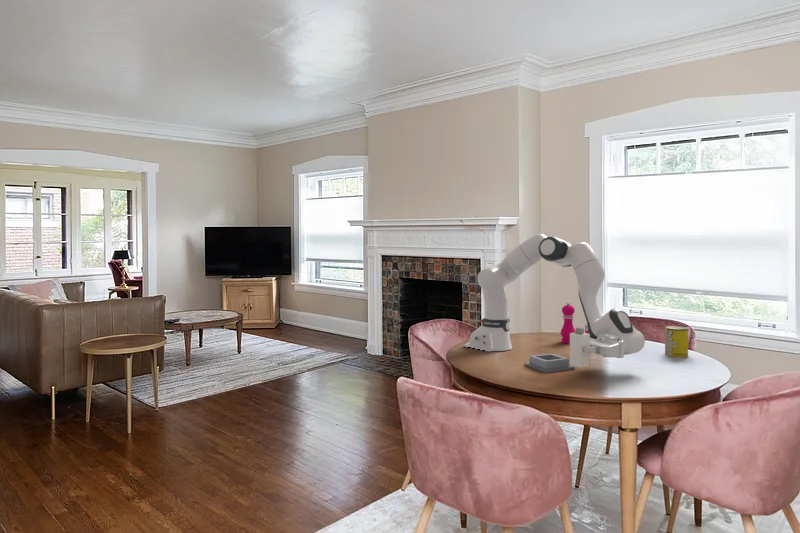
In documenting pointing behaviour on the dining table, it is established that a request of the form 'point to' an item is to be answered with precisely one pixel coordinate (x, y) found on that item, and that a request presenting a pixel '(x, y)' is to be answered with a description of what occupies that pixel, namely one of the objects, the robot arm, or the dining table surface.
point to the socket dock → (549, 363)
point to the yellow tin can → (676, 341)
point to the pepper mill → (567, 323)
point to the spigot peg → (579, 348)
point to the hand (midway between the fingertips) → (577, 348)
